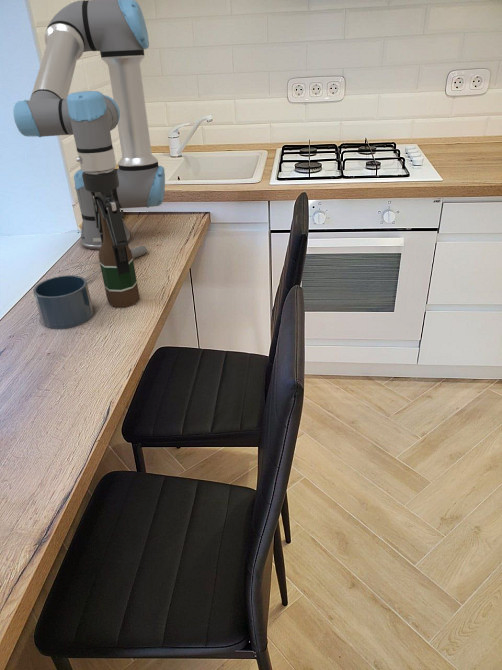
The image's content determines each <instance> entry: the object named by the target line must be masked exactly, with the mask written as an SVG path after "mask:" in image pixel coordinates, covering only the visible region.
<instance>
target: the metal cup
mask: <svg viewBox="0 0 502 670" xmlns="http://www.w3.org/2000/svg"><path fill="white" fill-rule="evenodd" d="M74 275H75V274H68V275H60V276H59V275H58V276H55V277H54V276H53V277H50V278H47V279H45V280H42V281H41V282H39V283H38V284H37V285H36V284H35V286H34V288H33V291H32V292H33V296H34V300H35V303H36V306H37V311H38V315H39V317H40V320H41V323H42V324H43V326H45V327H46V328H49V329H55V330H62V329H63V330H64V329H69V328H74V327H78V326H80V325H82V324H84V323H86V322H87V321H89V320H90V319H91V318H92V316H93V315H94V307H93V304H92V299H91V294H90V289H89V286H88V285H89V284H88V283H87V282H88V280H87V279H86V278H85V277H83V276H80V275H77V276H74ZM86 280H87V281H86Z"/></svg>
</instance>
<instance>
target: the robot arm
mask: <svg viewBox="0 0 502 670" xmlns="http://www.w3.org/2000/svg"><path fill="white" fill-rule="evenodd" d="M44 43H45V49H44V52H43V55H42V59H41V62H40V65H39V69H38V72H37V75H36V78H35V82H34V84H33V89H32V92H31V95H30V98H29V99H24V100H20V101H19V100H18V101H17V102H15V103H14V105H13V109H12V111H13V112H12V113H13V119H14V123H15V125H16V128H17V130H18V131H19V133H20V134H21V135H22V136H24V137H38V138H42V137H58V136H73V138H74V141H75V142H74V143H75V147H76V152H77V155H78V156H77V157H76V158H75V160H76V162H77V163H79V167H80V169H78V170H77V171H76V172H75V173H74V175H73V181H74V190H75V193H76V196H77V202H78V206H79V210H80V215H81V219H82V222H81V223H82V224H81V230H80V231H81V232H80V244H81V246H82V247H83V248H85V249H88V250H93V251H94V250H95V251H96V250H97V251H99V250H100V247H101V245H102V243H103V231H102V223H101V216H100V213H99V212H98V210H99V208H100V210H101V213H102V216H103V218H104V219H106V222H107V225H108V228H109V231H110V234H111V238H112V241H113V244H114V246H112V247H111V249H113V251H114V256H115V261H116V267H117V272H118V274H119V275H120V274H124V273H128V272H130V268H129V263H128V257H127V252H126V246H128V247H129V242H130V240H131V233H130V230H129V228H128V227H127V224H126V223H125V221H124V218H125V213H124V209H135V208H138V209H139V208H152V207H160V206H161V205H162V204H163V203H164V198H165V190H166V173H165V172H166V171H165V168H164V166H162V165H159V160H158V159H157V158H156V156H154V155H153V152H152V147H151V138H150V130H149V124H148V123H149V122H148V115H147V114H148V113H147V108H146V107H147V106H146V101H145V92H144V91H145V90H144V85H143V77H142V69H141V62H142V61H143V60H144V58H145V50H147V49H149V47H150V41H149V33H148V29H147V24H146V21H145V17H144V14H143V10H142V9H141V6H140V3H138V1H136V0H76V1H73V2H70V3H69V4H67V5H65V6H64V7H63V8H61V9H60V10H59V11H58V12H57V13H55V14H54V16H53V17H52V19H51V20H50V21H49V23H48V24H47V27H46V30H45V33H44ZM87 52H99V53H100V58H101V60H102V61H103V62H104V63H105V64H106V65H107V67H108V68H107V69H108V74H109V80H110V86H111V92H112V97H111V96H108V95H105V94H103V93H102V92H101V91H99V90H85V91H77V92H71V93H70V90H71V85H72V82H73V77H74V73H75V69H76V66H77V62H78V60H80V58H81V57H82V56H83V53H87ZM115 128H117V132H118V137H119V144H120V150H121V158H120V160H119V161H118V163H117V161H116V160H117V159H116V155H115V149H114V146H113V141H112V134H111V131H113V130H114V129H115ZM117 165H118V168H116V167H117ZM121 209H123V210H121ZM120 210H121V211H120ZM120 241H122V242H120Z"/></svg>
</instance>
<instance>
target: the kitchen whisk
mask: <svg viewBox="0 0 502 670" xmlns="http://www.w3.org/2000/svg"><path fill="white" fill-rule="evenodd" d="M147 246H148V247H147ZM150 248H151V246H150V245H149V244H144V245H139V246H137V247H133V248H130V250H131V253H132V256H133V260H134V259H136V258H139V257H141V256H144V255H145V254H147V253H148V251H149V250H150ZM79 263H80V264H79ZM90 263H91V264H92V265H96V264H98V262H97V261H93V260H87V261H86V260H85V261H83V263H81V261H76V262H72V263H68V264H65V265H63V266H61V267H59V268H58V269H57V270H56V271H55V273H54V275H53V278H54V277H56V275H57V274H58V273H59V275H58V276H61V275H62V274H63V273H64V272H66V271H68V270H69V269H73V268H77V267H83V266H84V265H85V266H90ZM72 264H76V265H73V266H70V267H68V268H65V269H63V268H64V267H66V266H69V265H72ZM98 268H100V269H99V270H96V269H98ZM60 269H62V270H60ZM59 270H60V271H59ZM92 270H96V271H95V272H94V273H92V274H91V275H89V276H87V277H85V279H86V281H87V284H88V283H89V282H91V281H92V280H93V279H95V278H96V277H98V275H100V274H102V271H101V267H100V265H97V266H96V267H93V268H89V269H87V270H84V271H82V272H78V273H76V274H73V275H74V276H80V275H82V274H84V273H87V272H90V271H92Z"/></svg>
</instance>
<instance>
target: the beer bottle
mask: <svg viewBox="0 0 502 670" xmlns="http://www.w3.org/2000/svg"><path fill="white" fill-rule="evenodd" d="M98 212H99V213H100V216H101V223H102V231H103V243H102V245H101V247H100V250H98V262H99V266H100V267H99V268H100V269H101V270H100V271H102V272H101V277H102V280H103V285H104V290H105V295H106V299H107V302H108V303H109V305H111V306H112V307H113V308H120V309H121V308H123V309H125V308H127V307H131V306H133V305H136V303H137V302H138V301H139V300H140V293H139V291H140V290H139V286H138V280H137V279H138V278H137V275H136V274H137V273H136V268H135V263H134V262H135V261H134V259H133V256H132V253H131V248H130V246H129V245H128V246H126V252H127V257H128V263H129V268H130V272H128V273H124V274H120V275H119V274H118V272H117V267H116V261H115V256H114V251H113V249H111V247H112V246H114V244H113V241H112V238H111V234H110V231H109V228H108V225H107V222H106V219H104V218H103V216H102V213H101V210H100V208H99V210H98ZM120 242H122V241H120Z"/></svg>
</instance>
